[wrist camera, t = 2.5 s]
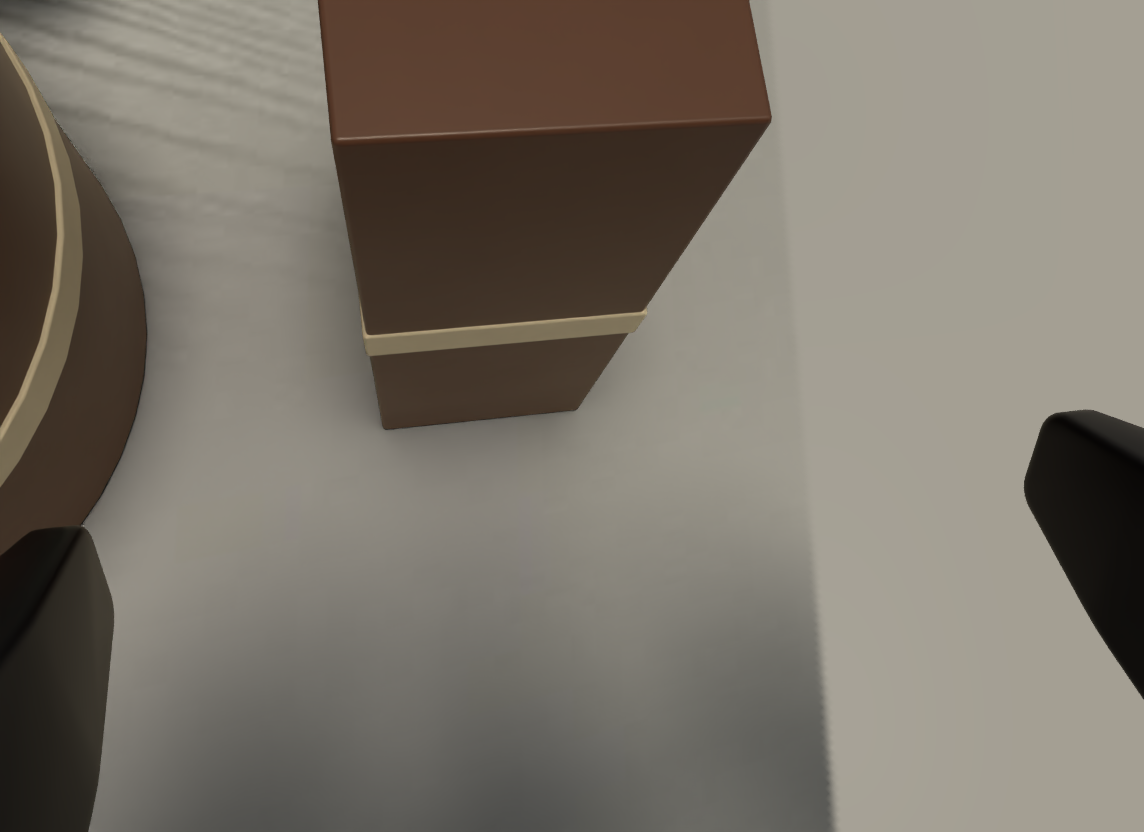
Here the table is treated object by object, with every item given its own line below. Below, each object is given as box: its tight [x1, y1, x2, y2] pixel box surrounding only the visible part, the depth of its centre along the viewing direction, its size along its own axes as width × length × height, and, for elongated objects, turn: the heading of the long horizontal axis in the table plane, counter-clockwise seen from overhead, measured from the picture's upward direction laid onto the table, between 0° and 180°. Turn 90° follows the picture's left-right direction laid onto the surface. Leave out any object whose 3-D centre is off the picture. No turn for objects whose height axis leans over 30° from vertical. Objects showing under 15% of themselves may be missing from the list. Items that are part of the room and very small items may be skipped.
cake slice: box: [318, 0, 772, 429], centre depth 16 cm, size 6×4×13 cm
